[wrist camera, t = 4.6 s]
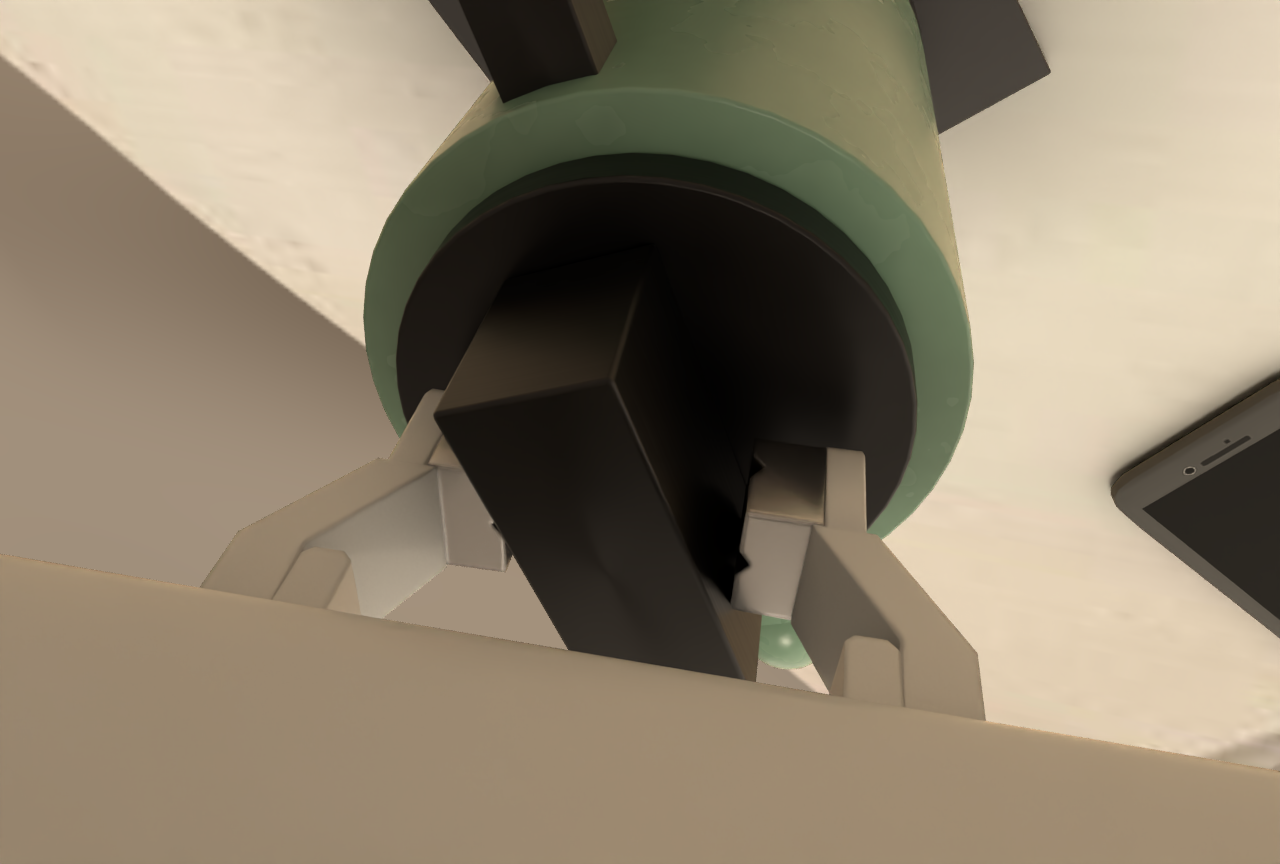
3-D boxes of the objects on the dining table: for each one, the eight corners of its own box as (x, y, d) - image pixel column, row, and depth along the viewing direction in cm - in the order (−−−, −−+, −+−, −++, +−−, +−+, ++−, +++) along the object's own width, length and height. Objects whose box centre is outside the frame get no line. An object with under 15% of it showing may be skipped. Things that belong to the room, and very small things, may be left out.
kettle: (433, -211, 22) (-166, 21, 9) (844, -395, 19) (826, -439, 6) (671, 382, 31) (542, 919, 18) (973, 324, 28) (1076, 919, 15)
